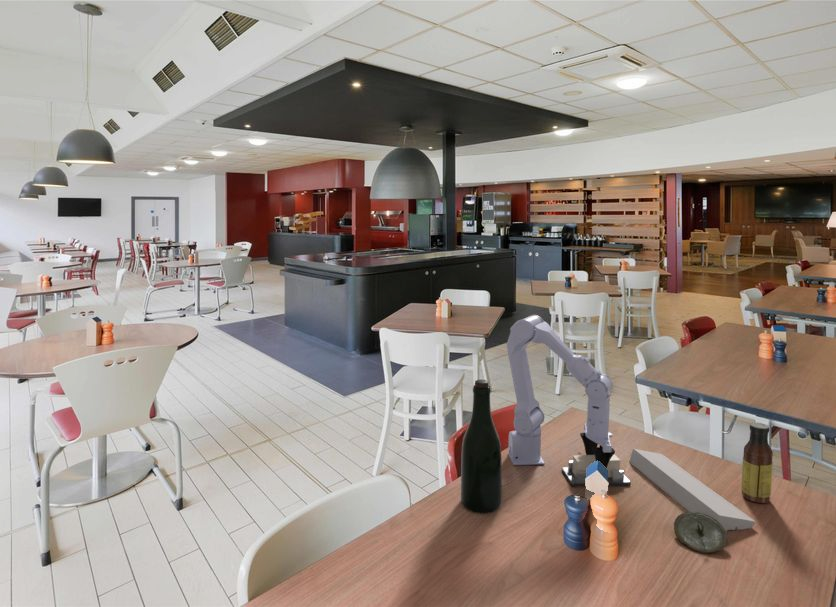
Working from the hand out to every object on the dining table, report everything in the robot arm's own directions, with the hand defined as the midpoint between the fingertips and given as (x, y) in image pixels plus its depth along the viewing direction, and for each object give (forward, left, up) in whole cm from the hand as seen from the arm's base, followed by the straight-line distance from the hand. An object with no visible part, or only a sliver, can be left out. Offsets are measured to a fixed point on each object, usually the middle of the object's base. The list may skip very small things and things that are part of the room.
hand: (595, 464), depth 136 cm
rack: (0, 0, -4) cm, 4 cm away
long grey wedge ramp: (+21, -8, -5) cm, 23 cm away
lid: (+13, -28, -4) cm, 31 cm away
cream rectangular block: (0, 0, -3) cm, 3 cm away
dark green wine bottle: (-34, -11, -4) cm, 36 cm away
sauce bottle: (+37, -12, -4) cm, 39 cm away
